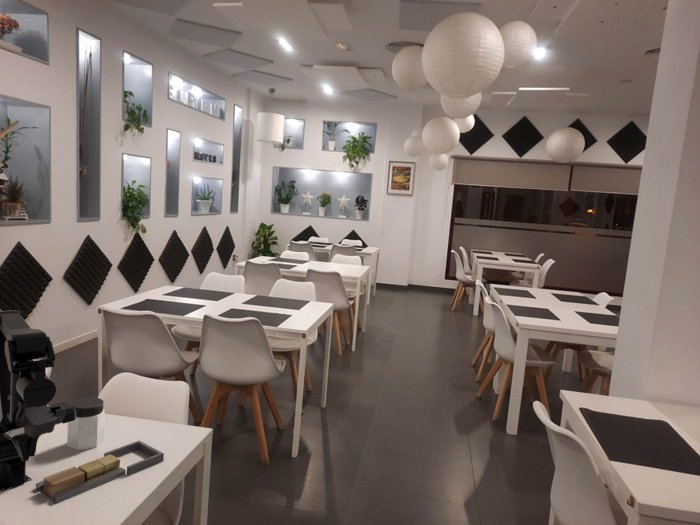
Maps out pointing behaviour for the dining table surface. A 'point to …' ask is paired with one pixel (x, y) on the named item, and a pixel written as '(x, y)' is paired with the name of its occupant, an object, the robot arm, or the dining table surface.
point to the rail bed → (82, 486)
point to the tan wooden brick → (63, 480)
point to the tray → (138, 445)
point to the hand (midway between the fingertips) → (24, 460)
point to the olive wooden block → (91, 470)
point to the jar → (86, 424)
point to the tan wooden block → (109, 463)
